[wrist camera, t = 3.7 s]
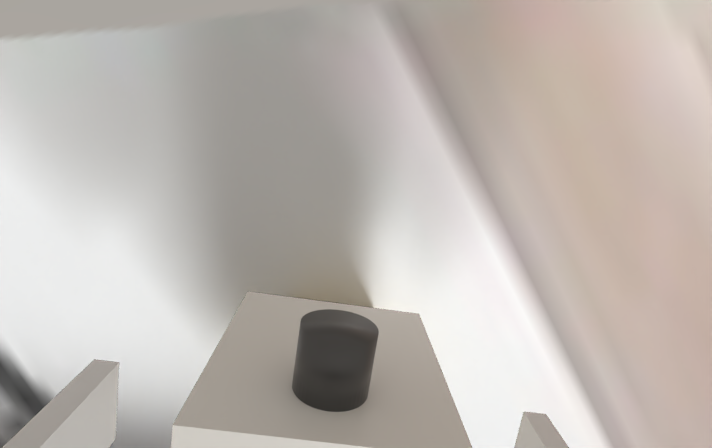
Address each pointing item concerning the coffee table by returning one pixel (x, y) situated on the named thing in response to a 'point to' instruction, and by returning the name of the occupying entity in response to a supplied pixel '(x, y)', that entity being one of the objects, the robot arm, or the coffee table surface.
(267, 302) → the plug
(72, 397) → the robot arm
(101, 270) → the coffee table surface
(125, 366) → the coffee table surface
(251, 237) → the coffee table surface
